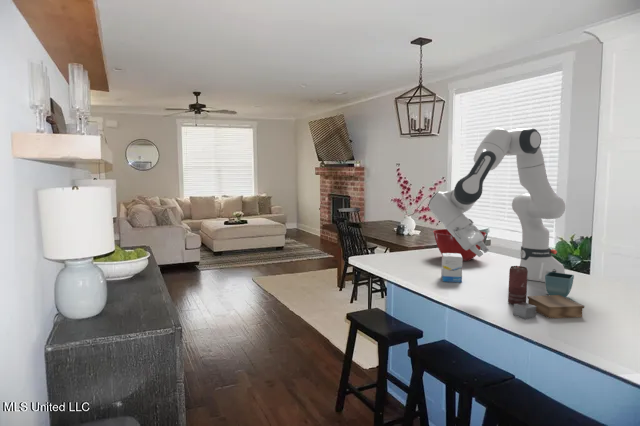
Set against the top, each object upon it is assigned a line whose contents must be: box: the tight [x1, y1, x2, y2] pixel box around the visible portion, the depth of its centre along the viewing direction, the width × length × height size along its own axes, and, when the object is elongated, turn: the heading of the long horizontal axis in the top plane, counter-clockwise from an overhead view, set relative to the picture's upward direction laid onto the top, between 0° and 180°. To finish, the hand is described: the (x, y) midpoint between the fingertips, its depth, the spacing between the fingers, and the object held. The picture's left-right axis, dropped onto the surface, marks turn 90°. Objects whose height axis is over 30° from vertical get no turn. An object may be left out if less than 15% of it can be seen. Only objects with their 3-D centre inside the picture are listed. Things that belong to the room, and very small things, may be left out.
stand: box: [526, 294, 585, 319], centre depth 148 cm, size 13×13×4 cm
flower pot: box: [544, 272, 575, 298], centre depth 165 cm, size 9×9×9 cm
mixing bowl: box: [432, 228, 487, 262], centre depth 237 cm, size 28×28×15 cm
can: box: [507, 265, 528, 306], centre depth 157 cm, size 6×6×14 cm
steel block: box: [512, 302, 537, 321], centre depth 144 cm, size 5×5×4 cm
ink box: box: [440, 253, 464, 283], centre depth 191 cm, size 9×8×12 cm
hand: (484, 253), depth 163 cm, fingers open, 8 cm apart
